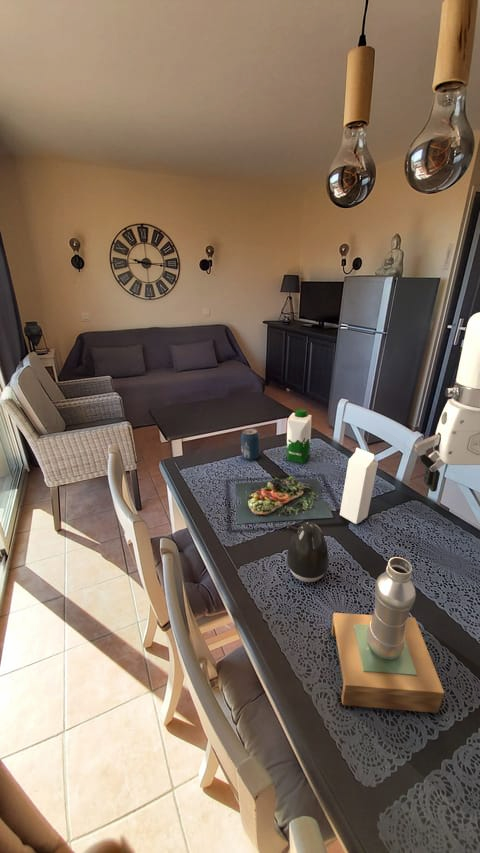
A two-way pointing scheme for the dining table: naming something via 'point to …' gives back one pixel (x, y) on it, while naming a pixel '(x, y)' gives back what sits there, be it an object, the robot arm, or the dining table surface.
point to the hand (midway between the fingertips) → (459, 487)
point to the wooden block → (385, 669)
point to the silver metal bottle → (391, 609)
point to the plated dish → (280, 501)
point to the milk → (358, 486)
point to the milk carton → (298, 436)
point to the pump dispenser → (307, 552)
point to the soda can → (250, 444)
